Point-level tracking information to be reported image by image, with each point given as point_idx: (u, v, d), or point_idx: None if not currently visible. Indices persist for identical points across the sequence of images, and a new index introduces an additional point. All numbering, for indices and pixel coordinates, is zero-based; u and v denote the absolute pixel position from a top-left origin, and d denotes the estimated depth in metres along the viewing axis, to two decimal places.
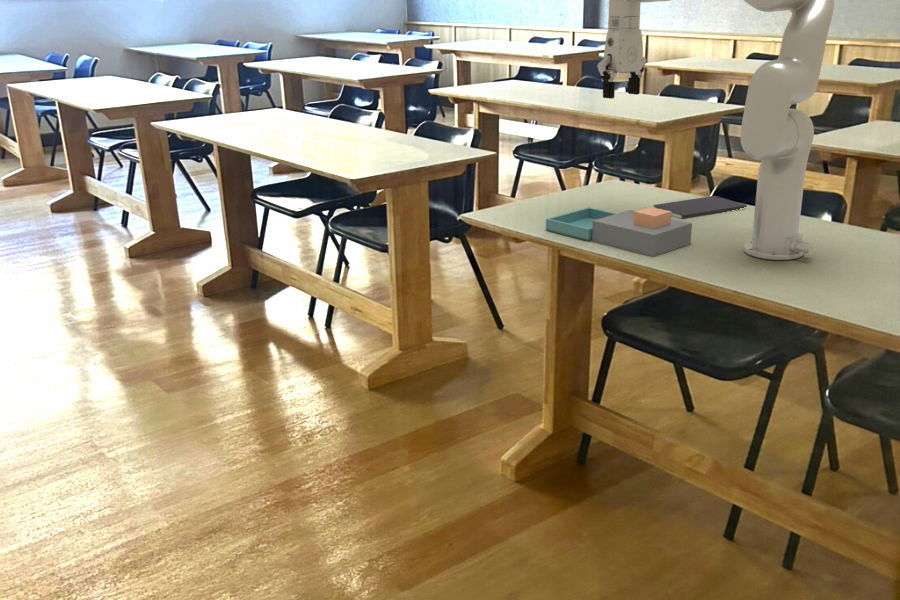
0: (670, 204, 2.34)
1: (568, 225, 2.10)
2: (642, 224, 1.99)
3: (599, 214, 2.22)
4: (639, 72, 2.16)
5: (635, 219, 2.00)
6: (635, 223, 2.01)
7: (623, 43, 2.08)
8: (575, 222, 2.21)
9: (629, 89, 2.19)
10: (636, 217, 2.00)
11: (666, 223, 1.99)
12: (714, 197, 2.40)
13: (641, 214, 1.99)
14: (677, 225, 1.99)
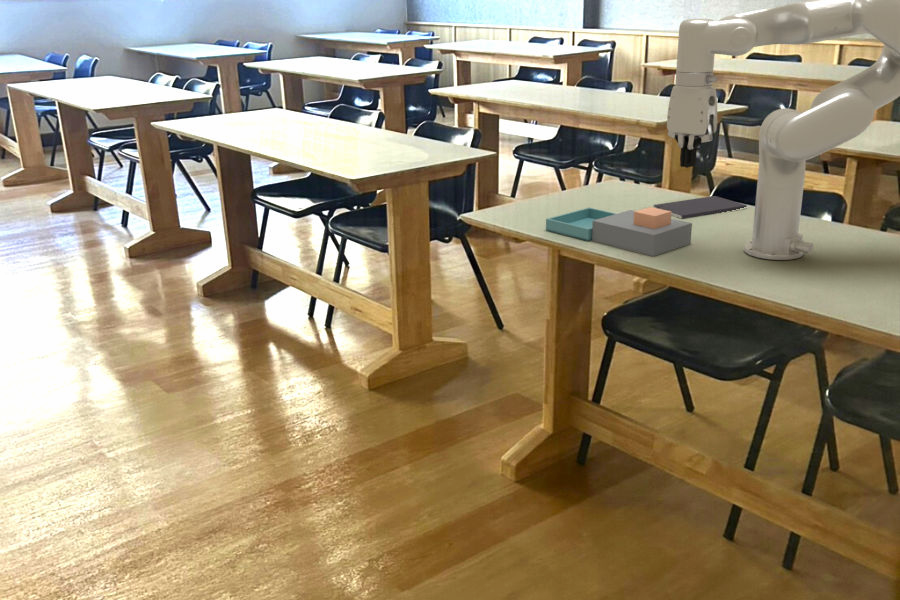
0: (670, 204, 2.34)
1: (568, 225, 2.10)
2: (642, 224, 1.99)
3: (599, 214, 2.22)
4: None
5: (635, 219, 2.00)
6: (635, 223, 2.01)
7: None
8: (575, 222, 2.21)
9: None
10: (636, 217, 2.00)
11: (666, 223, 1.99)
12: (714, 197, 2.40)
13: (641, 214, 1.99)
14: (677, 225, 1.99)
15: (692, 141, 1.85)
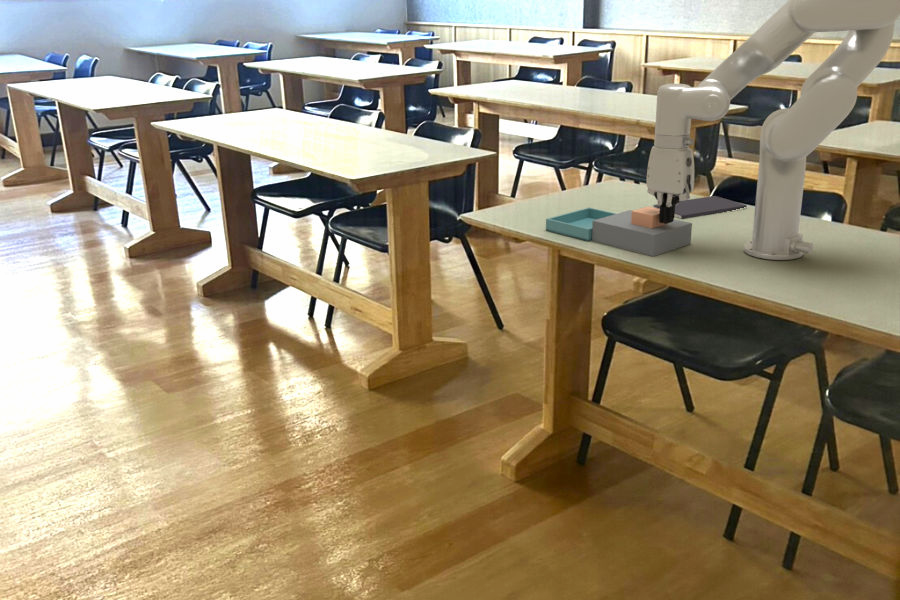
0: None
1: (568, 225, 2.10)
2: (640, 223, 2.00)
3: (599, 214, 2.22)
4: None
5: (633, 218, 2.01)
6: (633, 222, 2.01)
7: None
8: (575, 222, 2.21)
9: None
10: (634, 216, 2.01)
11: None
12: (714, 197, 2.40)
13: (639, 213, 1.99)
14: (677, 225, 1.99)
15: (670, 199, 1.93)
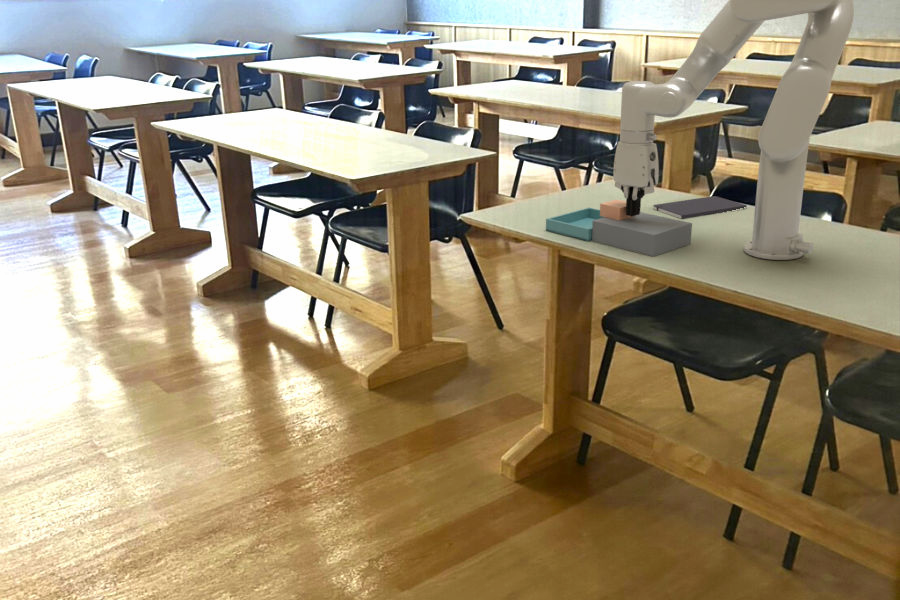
0: (670, 204, 2.34)
1: (568, 225, 2.10)
2: (608, 216, 2.07)
3: (599, 214, 2.22)
4: None
5: (601, 211, 2.08)
6: (601, 215, 2.08)
7: None
8: (575, 222, 2.21)
9: None
10: (602, 209, 2.08)
11: None
12: (714, 197, 2.40)
13: (607, 206, 2.06)
14: (677, 225, 1.99)
15: (636, 192, 2.00)
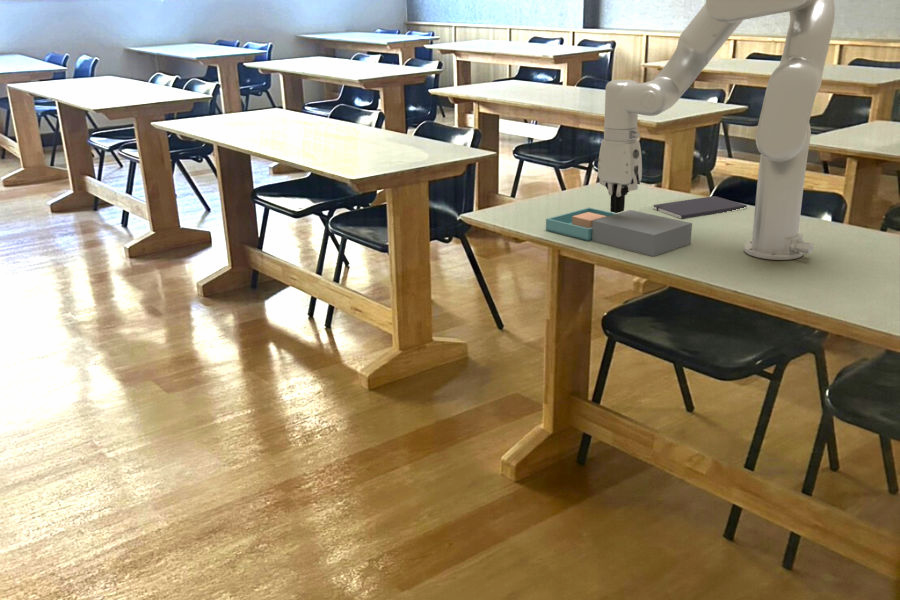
0: (670, 204, 2.34)
1: (568, 225, 2.10)
2: (582, 220, 2.13)
3: (599, 214, 2.22)
4: None
5: (588, 225, 2.12)
6: (588, 221, 2.12)
7: None
8: None
9: None
10: (587, 227, 2.12)
11: None
12: (714, 197, 2.40)
13: None
14: (677, 225, 1.99)
15: (620, 189, 2.04)
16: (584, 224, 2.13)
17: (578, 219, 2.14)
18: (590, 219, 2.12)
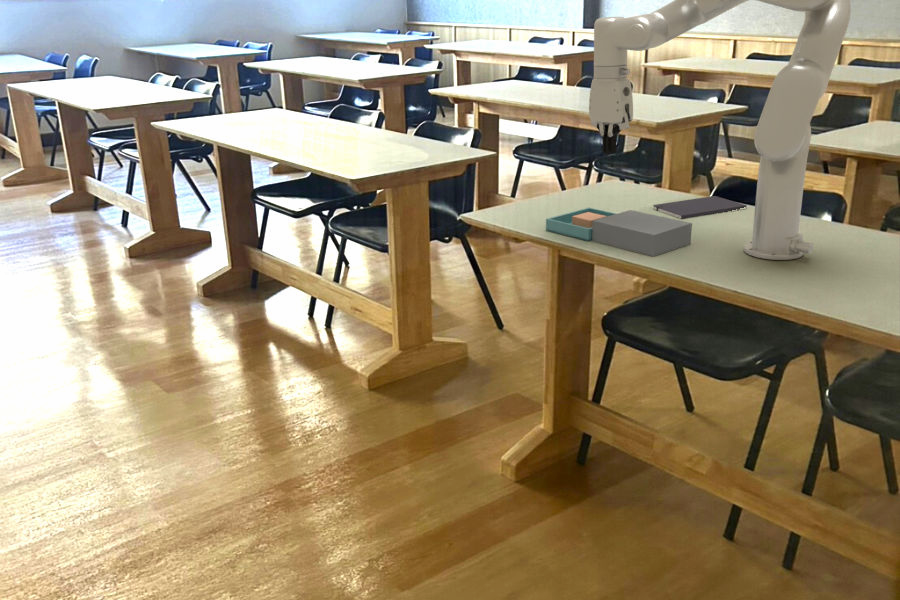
0: (670, 204, 2.34)
1: (568, 225, 2.10)
2: (582, 220, 2.13)
3: (599, 214, 2.22)
4: None
5: (588, 225, 2.12)
6: (588, 221, 2.12)
7: None
8: None
9: None
10: (587, 227, 2.12)
11: None
12: (714, 197, 2.39)
13: None
14: (677, 225, 1.99)
15: (611, 129, 2.02)
16: (584, 224, 2.13)
17: (578, 219, 2.14)
18: (590, 219, 2.12)
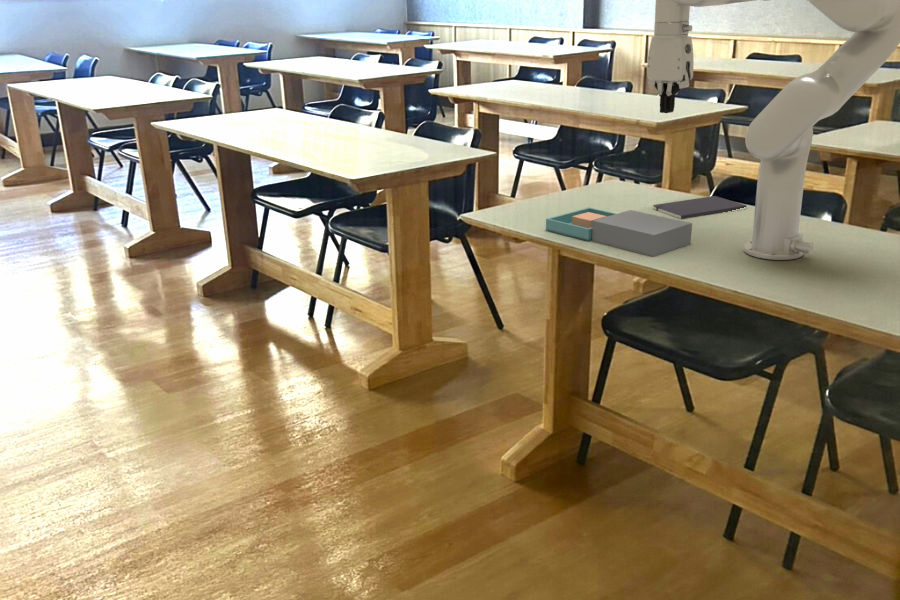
0: (670, 204, 2.34)
1: (568, 225, 2.10)
2: (582, 220, 2.13)
3: (599, 214, 2.22)
4: None
5: (588, 225, 2.12)
6: (588, 221, 2.12)
7: None
8: None
9: None
10: (587, 227, 2.12)
11: None
12: (714, 197, 2.39)
13: None
14: (677, 225, 1.99)
15: (670, 88, 1.98)
16: (584, 224, 2.13)
17: (578, 219, 2.14)
18: (590, 219, 2.12)
